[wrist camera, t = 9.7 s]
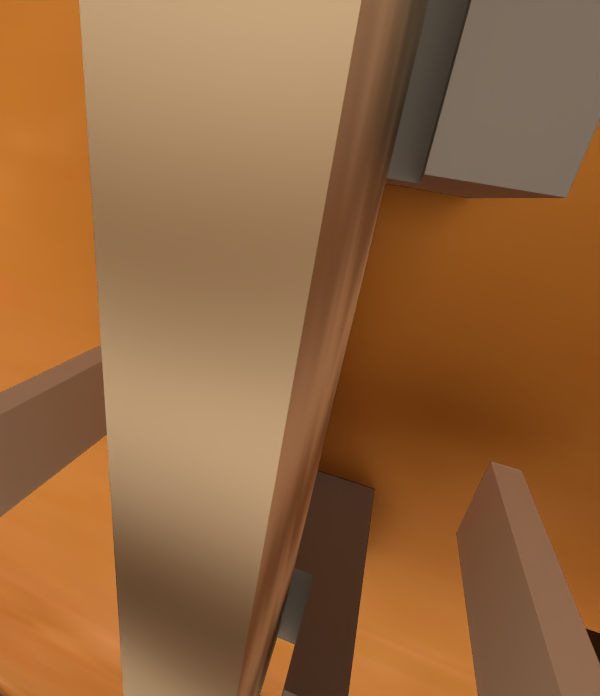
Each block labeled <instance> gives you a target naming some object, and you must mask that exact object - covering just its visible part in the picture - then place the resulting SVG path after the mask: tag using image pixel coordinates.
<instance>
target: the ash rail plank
mask: <svg viewBox="0 0 600 696" xmlns="http://www.w3.org/2000/svg"><path fill="white" fill-rule="evenodd" d="M428 2H429V0H79V5H80V21H81V36H82V52H83V68H84V83H85V99H86V115H87V130H88V146H89V162H90V178H91V193H92V209H93V225H94V240H95V256H96V272H97V288H98V303H99V319H100V335H101V350H102V366H103V382H104V397H105V413H106V429H107V445H108V460H109V476H110V492H111V507H112V523H113V539H114V555H115V570H116V586H117V602H118V617H119V633H120V649H121V664H122V680H123V696H259V695H260V692H261V689H262V686H263V682H264V679H265V676H266V672H267V669H268V666H269V663H270V659H271V656H272V653H273V650H274V646H275V643H276V640H277V637H278V633H279V630H280V626H281V622H282V618H283V613H284V609H285V605H286V601H287V597H288V592H289V588H290V584H291V580H292V575H293V571H294V567H295V563H296V559H297V554H298V550H299V546H300V542H301V538H302V533H303V529H304V525H305V521H306V516H307V512H308V508H309V504H310V500H311V495H312V491H313V487H314V483H315V478H316V474H317V470H318V466H319V462H320V457H321V453H322V449H323V445H324V440H325V436H326V432H327V428H328V424H329V419H330V415H331V411H332V407H333V402H334V398H335V394H336V390H337V386H338V381H339V377H340V373H341V369H342V365H343V360H344V356H345V352H346V348H347V343H348V339H349V335H350V331H351V327H352V322H353V318H354V314H355V310H356V305H357V301H358V297H359V293H360V289H361V284H362V280H363V276H364V272H365V267H366V263H367V259H368V255H369V251H370V246H371V242H372V238H373V234H374V229H375V225H376V221H377V217H378V213H379V208H380V204H381V200H382V196H383V192H384V187H385V183H386V179H387V175H388V170H389V166H390V162H391V158H392V154H393V149H394V145H395V141H396V137H397V132H398V128H399V124H400V120H401V116H402V111H403V107H404V103H405V99H406V94H407V90H408V86H409V82H410V78H411V73H412V69H413V65H414V61H415V56H416V52H417V48H418V44H419V40H420V35H421V31H422V27H423V23H424V19H425V14H426V10H427V6H428Z"/></svg>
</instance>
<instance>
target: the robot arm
mask: <svg viewBox="0 0 600 696" xmlns="http://www.w3.org/2000/svg"><path fill="white" fill-rule="evenodd" d="M105 435H107V429H106V413H105V397H104V382H103V366H102V350H101V346H98V347H96V348H94V349H92V350H89V351H87V352H85V353H83V354H81V355H79V356H77V357H75V358H73V359H70V360H68V361H66V362H64V363H62V364H60V365H58V366H56V367H53V368H51V369H49V370H47V371H45V372H43V373H41V374H39V375H37V376H34V377H32V378H30V379H28V380H26V381H24V382H22V383H20V384H18V385H15V386H13V387H11V388H9V389H7V390H5V391H3V392H1V393H0V517H1V516H2V515H3V514H5V513H6V512H7V511H9V510H10V509H11V508H13V507H14V506H15V505H16V504H18V503H19V502H20V501H22V500H23V499H24V498H25V497H27V496H28V495H29V494H31V493H32V492H33V491H34V490H36V489H37V488H38V487H40V486H41V485H42V484H43V483H45V482H46V481H47V480H49V479H50V478H51V477H53V476H54V475H55V474H56V473H58V472H59V471H60V470H62V469H63V468H64V467H65V466H67V465H68V464H69V463H71V462H72V461H73V460H74V459H76V458H77V457H78V456H80V455H81V454H82V453H84V452H85V451H86V450H87V449H89V448H90V447H91V446H93V445H94V444H95V443H96V442H98V441H99V440H100V439H102V438H103V437H104V436H105ZM456 535H457V543H458V550H459V558H460V565H461V573H462V580H463V588H464V595H465V603H466V610H467V618H468V625H469V633H470V640H471V648H472V655H473V663H474V670H475V678H476V685H477V693H478V696H600V633H597V632H594V631H591V630H589V629H586V628H585V626H584V624H583V621H582V619H581V616H580V614H579V611H578V609H577V606H576V604H575V601H574V599H573V596H572V594H571V592H570V589H569V587H568V584H567V582H566V579H565V577H564V574H563V572H562V569H561V567H560V564H559V562H558V559H557V557H556V554H555V552H554V549H553V547H552V544H551V542H550V540H549V537H548V535H547V532H546V530H545V527H544V525H543V522H542V520H541V517H540V515H539V512H538V510H537V507H536V505H535V502H534V500H533V497H532V495H531V493H530V490H529V488H528V485H527V483H526V480H525V478H524V475H523V473H522V470H520V469H516V468H513V467H509V466H506V465H503V464H499V463H496V462H492V461H491V462H490V464H489V466H488V468H487V470H486V472H485V474H484V476H483V478H482V480H481V483H480V485H479V487H478V489H477V491H476V493H475V495H474V497H473V499H472V501H471V503H470V506H469V508H468V510H467V512H466V514H465V516H464V518H463V520H462V522H461V524H460V527H459V529H458V531H457V533H456Z"/></svg>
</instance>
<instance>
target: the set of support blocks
mask: <svg viewBox="0 0 600 696" xmlns="http://www.w3.org/2000/svg"><path fill="white" fill-rule="evenodd" d="M599 120H600V0H429V2H428V6H427V10H426V14H425V19H424V23H423V27H422V31H421V35H420V40H419V44H418V48H417V52H416V56H415V61H414V65H413V69H412V73H411V78H410V82H409V86H408V90H407V94H406V99H405V103H404V107H403V111H402V116H401V120H400V124H399V128H398V132H397V137H396V141H395V145H394V149H393V154H392V158H391V162H390V166H389V170H388V175H387V179H386V183H385V184H391V185H396V186H402V187H408V188H414V189H420V190H425V191H431V192H437V193H443V194H449V195H454V196H460V197H466V198H567V195H568V193H569V191H570V188H571V186H572V184H573V181H574V179H575V177H576V174H577V172H578V169H579V167H580V165H581V162H582V160H583V158H584V155H585V153H586V151H587V148H588V146H589V144H590V141H591V139H592V137H593V134H594V132H595V130H596V127H597V125H598V122H599ZM373 497H374V489H372V488H369V487H366V486H363V485H359V484H356V483H353V482H350V481H347V480H344V479H341V478H338V477H335V476H332V475H329V474H326V473H323V472H320V471H317V474H316V478H315V483H314V487H313V491H312V495H311V500H310V504H309V508H308V512H307V516H306V521H305V525H304V529H303V533H302V538H301V542H300V546H299V550H298V554H297V559H296V563H295V567H294V571H293V575H292V580H291V584H290V588H289V592H288V597H287V601H286V605H285V609H284V613H283V618H282V622H281V626H280V630H279V633H278V638H281V639H283V640H285V641H288V642H290V643H292V644H295V647H294V651H293V654H292V658H291V662H290V666H289V670H288V674H287V677H286V681H285V685H284V689H283V693H282V696H348V693H349V685H350V677H351V669H352V662H353V654H354V646H355V638H356V630H357V622H358V615H359V607H360V599H361V591H362V583H363V575H364V567H365V560H366V552H367V544H368V536H369V528H370V520H371V513H372V505H373Z"/></svg>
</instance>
